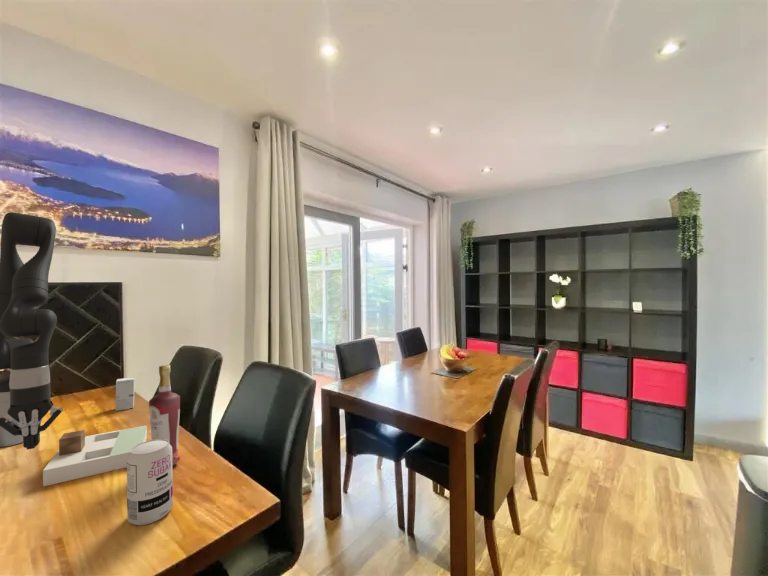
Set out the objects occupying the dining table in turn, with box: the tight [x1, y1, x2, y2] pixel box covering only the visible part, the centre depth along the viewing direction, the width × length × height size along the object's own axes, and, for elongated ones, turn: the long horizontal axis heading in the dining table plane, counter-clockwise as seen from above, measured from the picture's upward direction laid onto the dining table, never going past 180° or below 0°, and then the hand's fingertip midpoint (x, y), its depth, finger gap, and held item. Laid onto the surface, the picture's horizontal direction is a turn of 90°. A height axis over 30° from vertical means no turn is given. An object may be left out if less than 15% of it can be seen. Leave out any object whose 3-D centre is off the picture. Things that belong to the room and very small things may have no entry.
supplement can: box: [126, 439, 174, 526], centre depth 74 cm, size 8×8×15 cm
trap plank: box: [42, 425, 148, 487], centre depth 98 cm, size 20×20×4 cm
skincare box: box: [114, 377, 135, 412], centre depth 139 cm, size 6×4×12 cm
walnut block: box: [58, 429, 86, 456], centre depth 95 cm, size 4×4×4 cm
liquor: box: [148, 364, 181, 468], centre depth 93 cm, size 7×7×28 cm
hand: (31, 447), depth 90 cm, fingers closed
